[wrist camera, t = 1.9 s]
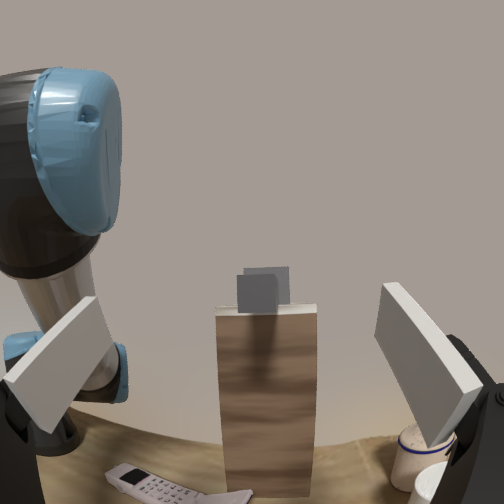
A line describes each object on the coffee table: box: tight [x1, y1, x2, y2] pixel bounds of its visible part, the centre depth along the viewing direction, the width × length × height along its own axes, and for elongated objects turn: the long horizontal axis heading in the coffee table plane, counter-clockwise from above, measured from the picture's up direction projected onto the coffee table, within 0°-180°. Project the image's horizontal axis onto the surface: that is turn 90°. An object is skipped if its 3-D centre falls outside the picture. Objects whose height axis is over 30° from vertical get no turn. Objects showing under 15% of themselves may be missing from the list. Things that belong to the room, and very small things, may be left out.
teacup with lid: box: [391, 423, 454, 492], centre depth 26 cm, size 12×9×12 cm
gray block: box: [237, 267, 290, 313], centre depth 32 cm, size 21×6×5 cm, turn 174°
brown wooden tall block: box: [215, 302, 317, 498], centre depth 34 cm, size 10×12×30 cm
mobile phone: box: [105, 463, 253, 504], centre depth 25 cm, size 6×6×25 cm
